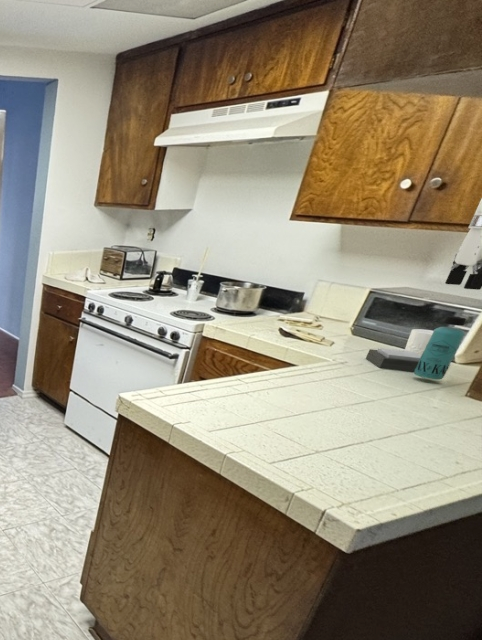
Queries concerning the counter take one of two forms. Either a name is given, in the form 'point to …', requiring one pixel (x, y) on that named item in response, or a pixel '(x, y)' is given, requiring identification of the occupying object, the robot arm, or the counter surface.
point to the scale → (390, 362)
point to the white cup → (418, 340)
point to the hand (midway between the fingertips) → (461, 286)
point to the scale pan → (399, 354)
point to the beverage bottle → (440, 349)
